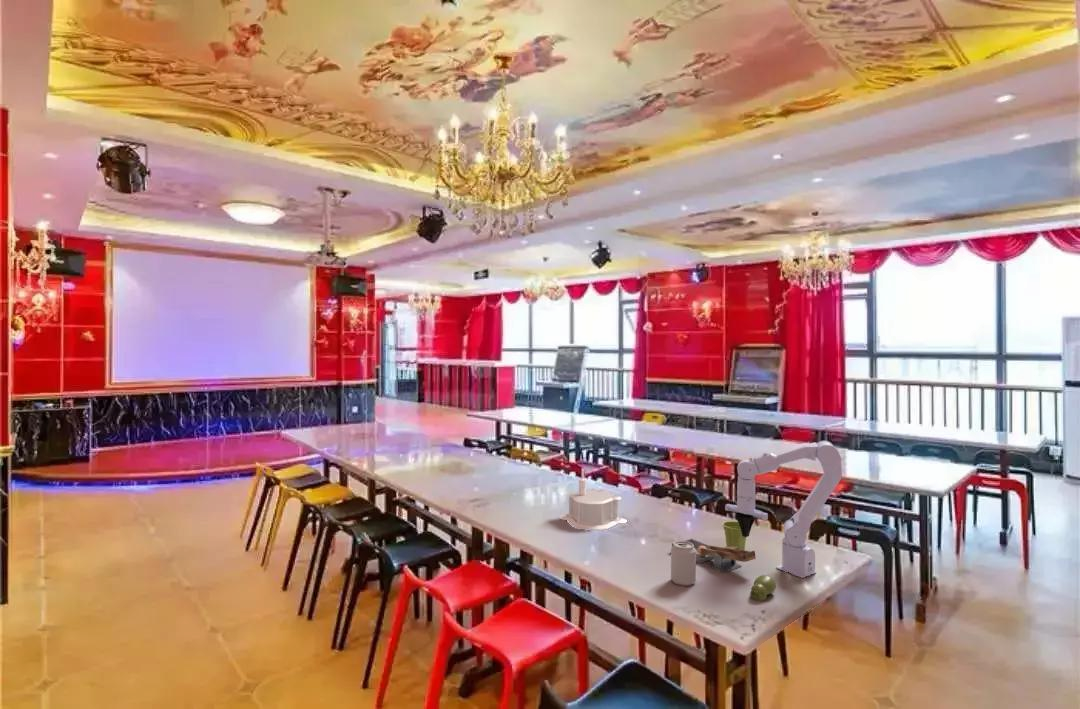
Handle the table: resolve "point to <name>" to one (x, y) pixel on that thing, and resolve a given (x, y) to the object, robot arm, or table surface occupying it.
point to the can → (683, 563)
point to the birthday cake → (592, 508)
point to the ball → (700, 550)
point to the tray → (696, 545)
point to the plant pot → (734, 535)
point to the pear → (762, 587)
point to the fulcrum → (723, 564)
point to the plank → (730, 553)
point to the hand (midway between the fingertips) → (745, 536)
